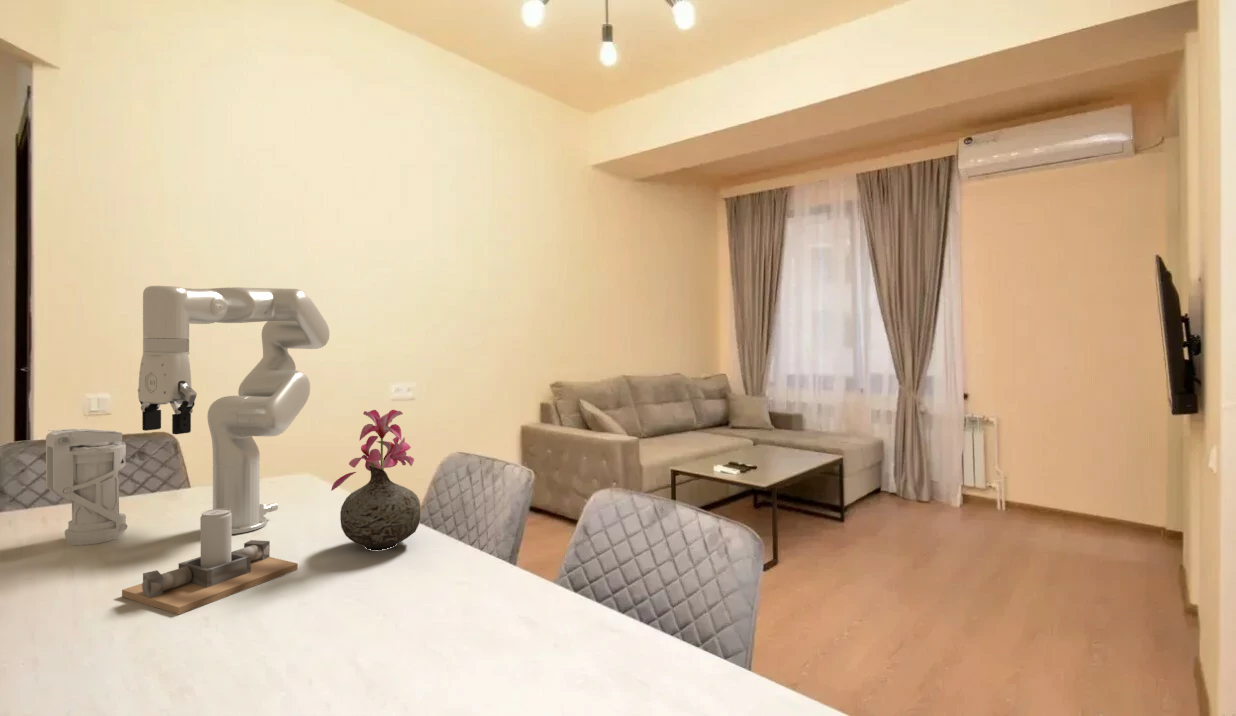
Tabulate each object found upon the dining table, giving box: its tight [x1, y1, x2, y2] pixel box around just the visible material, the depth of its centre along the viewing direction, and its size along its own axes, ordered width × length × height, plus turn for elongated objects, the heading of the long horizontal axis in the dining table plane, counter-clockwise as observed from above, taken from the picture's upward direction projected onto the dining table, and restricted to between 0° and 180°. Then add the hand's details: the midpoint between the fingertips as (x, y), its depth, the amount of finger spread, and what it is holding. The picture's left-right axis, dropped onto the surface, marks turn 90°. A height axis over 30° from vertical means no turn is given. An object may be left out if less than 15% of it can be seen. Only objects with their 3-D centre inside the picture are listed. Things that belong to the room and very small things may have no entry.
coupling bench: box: [121, 539, 299, 615], centre depth 112 cm, size 22×16×4 cm
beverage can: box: [199, 508, 232, 569], centre depth 112 cm, size 5×5×12 cm
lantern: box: [45, 428, 128, 546], centre depth 134 cm, size 13×10×25 cm
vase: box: [330, 409, 421, 550], centre depth 133 cm, size 17×17×30 cm
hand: (166, 431), depth 122 cm, fingers open, 9 cm apart
